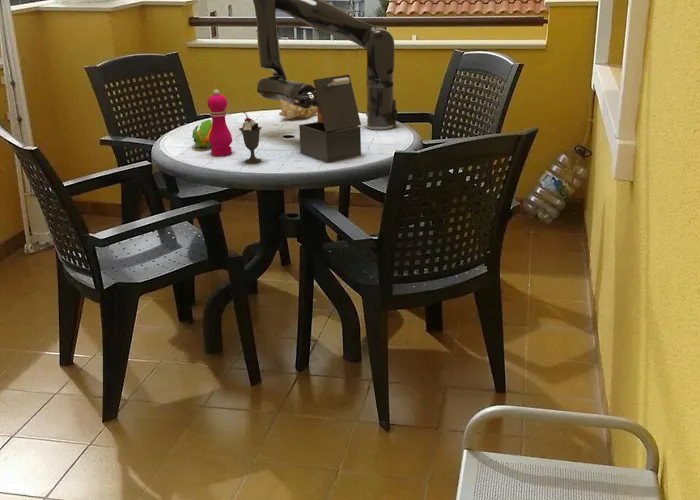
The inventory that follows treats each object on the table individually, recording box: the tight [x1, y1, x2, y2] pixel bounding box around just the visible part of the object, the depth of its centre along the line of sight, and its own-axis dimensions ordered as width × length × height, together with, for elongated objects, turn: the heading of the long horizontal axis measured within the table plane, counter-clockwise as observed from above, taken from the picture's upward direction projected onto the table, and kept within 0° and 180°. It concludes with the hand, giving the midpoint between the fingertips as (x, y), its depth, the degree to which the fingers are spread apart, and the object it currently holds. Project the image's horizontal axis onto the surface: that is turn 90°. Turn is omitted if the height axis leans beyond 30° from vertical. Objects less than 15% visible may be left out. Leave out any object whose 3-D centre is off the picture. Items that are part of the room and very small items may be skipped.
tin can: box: [316, 98, 323, 123], centre depth 246 cm, size 5×5×9 cm
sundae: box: [238, 111, 263, 164], centre depth 242 cm, size 7×7×15 cm
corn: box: [191, 119, 212, 148], centre depth 265 cm, size 7×8×20 cm
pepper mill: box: [206, 89, 233, 157], centre depth 250 cm, size 7×7×20 cm
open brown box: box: [298, 121, 362, 163], centre depth 249 cm, size 15×13×9 cm
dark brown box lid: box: [313, 74, 362, 132], centre depth 239 cm, size 16×13×6 cm
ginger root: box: [278, 101, 317, 120], centre depth 299 cm, size 16×16×8 cm
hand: (330, 102), depth 243 cm, fingers closed on tin can, 5 cm apart
